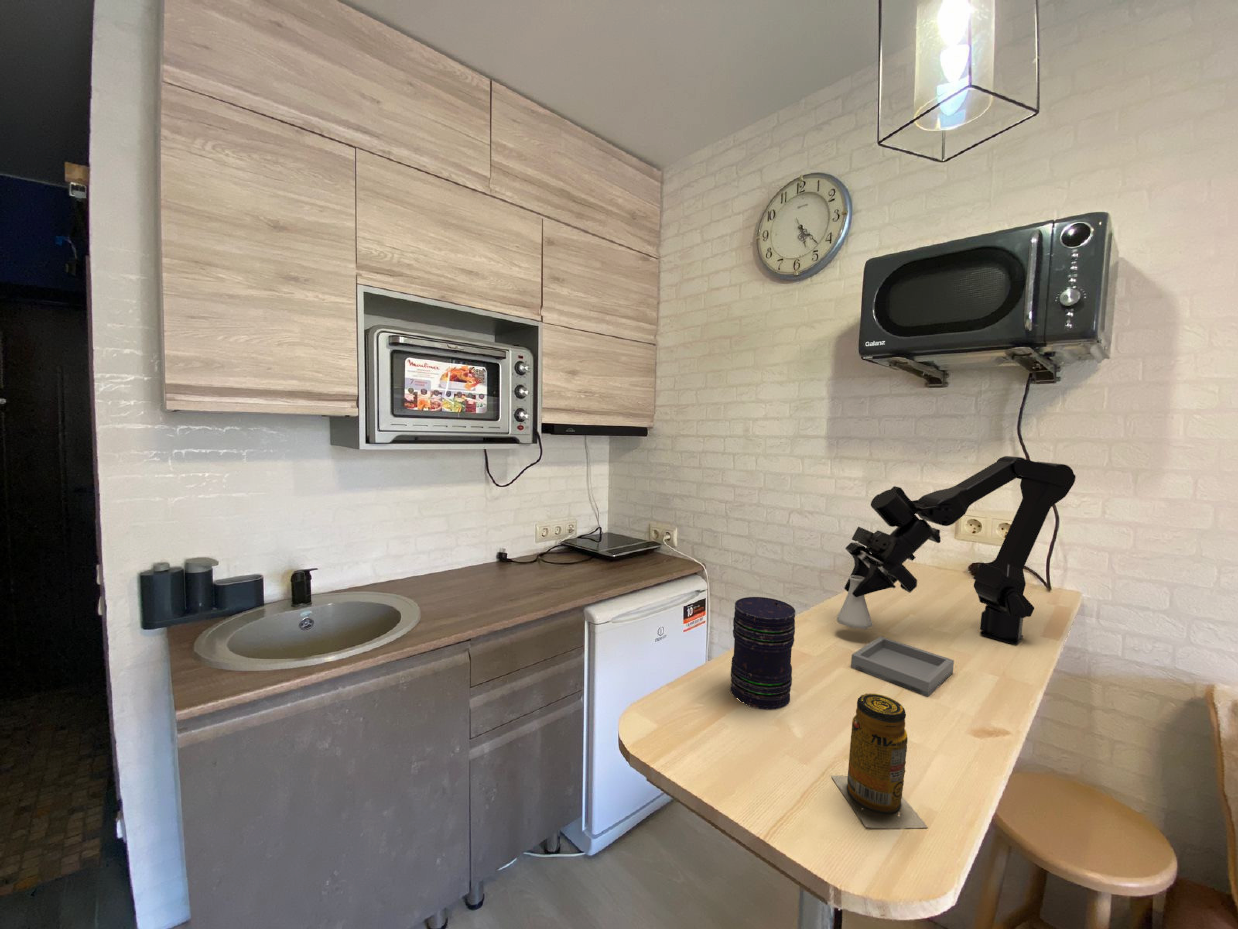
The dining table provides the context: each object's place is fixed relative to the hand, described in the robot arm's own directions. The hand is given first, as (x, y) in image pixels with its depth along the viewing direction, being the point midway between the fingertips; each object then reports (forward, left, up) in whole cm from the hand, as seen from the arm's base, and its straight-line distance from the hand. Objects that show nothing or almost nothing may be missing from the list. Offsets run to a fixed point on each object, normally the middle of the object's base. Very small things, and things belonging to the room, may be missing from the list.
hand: (849, 592), depth 109 cm
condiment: (-24, +45, -10) cm, 52 cm away
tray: (-13, +7, -10) cm, 18 cm away
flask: (-1, -1, -7) cm, 7 cm away
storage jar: (-1, +35, -10) cm, 36 cm away
